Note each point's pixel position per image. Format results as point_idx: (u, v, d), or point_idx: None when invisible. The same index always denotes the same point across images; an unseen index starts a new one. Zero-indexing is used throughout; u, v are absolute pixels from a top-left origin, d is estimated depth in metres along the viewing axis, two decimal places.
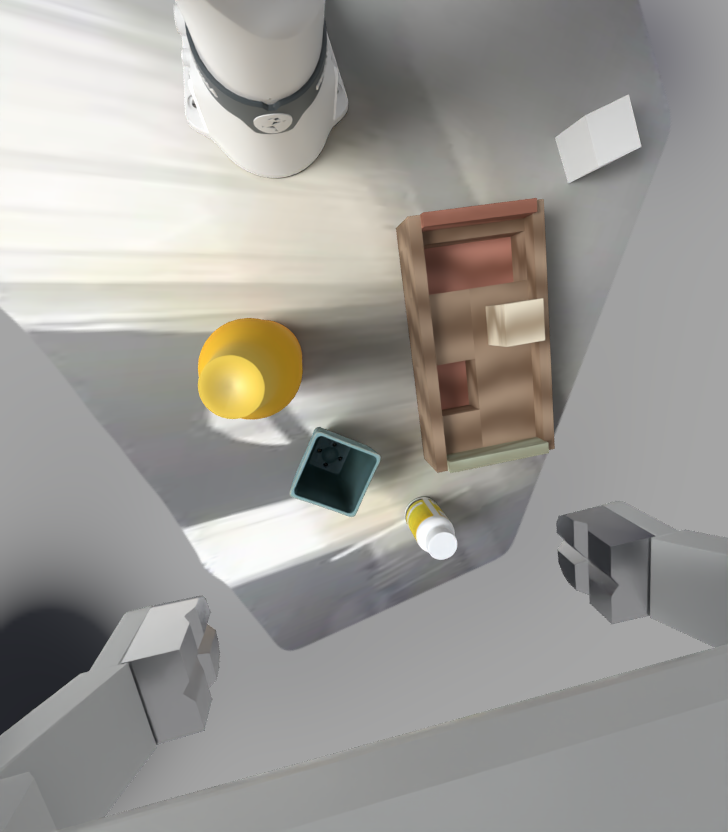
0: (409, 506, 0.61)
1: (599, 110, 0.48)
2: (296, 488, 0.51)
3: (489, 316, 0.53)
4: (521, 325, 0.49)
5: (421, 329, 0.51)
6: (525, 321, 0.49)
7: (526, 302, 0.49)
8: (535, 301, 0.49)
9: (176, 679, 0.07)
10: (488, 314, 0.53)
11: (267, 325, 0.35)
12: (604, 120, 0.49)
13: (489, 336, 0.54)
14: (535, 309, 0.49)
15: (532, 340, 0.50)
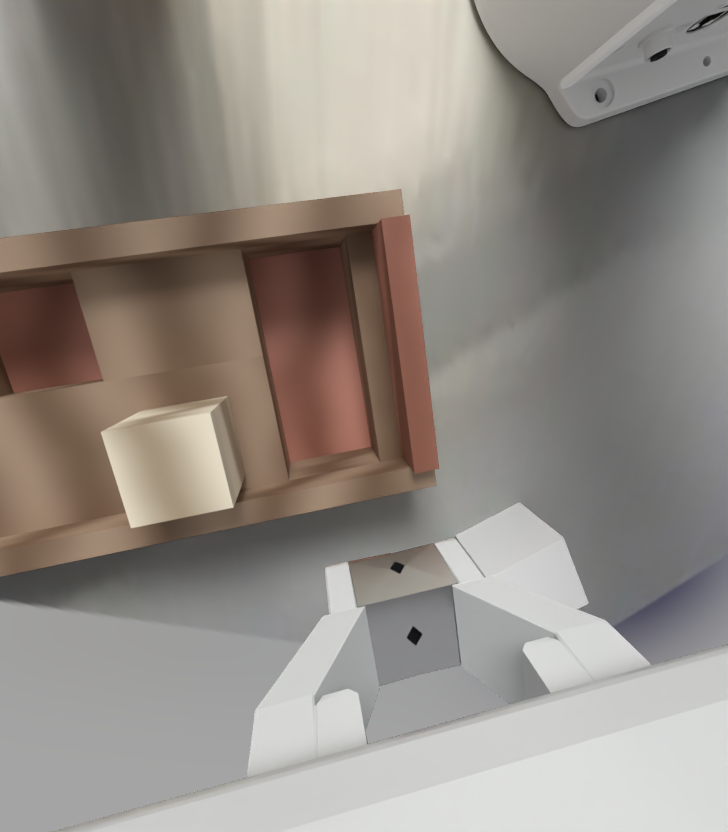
0: None
1: (569, 560, 0.29)
2: None
3: (201, 402, 0.23)
4: (162, 464, 0.20)
5: (147, 222, 0.20)
6: (174, 472, 0.20)
7: (220, 468, 0.20)
8: (224, 490, 0.21)
9: (402, 623, 0.07)
10: (208, 400, 0.24)
11: None
12: (555, 573, 0.29)
13: (158, 409, 0.24)
14: (206, 493, 0.20)
15: (126, 496, 0.20)
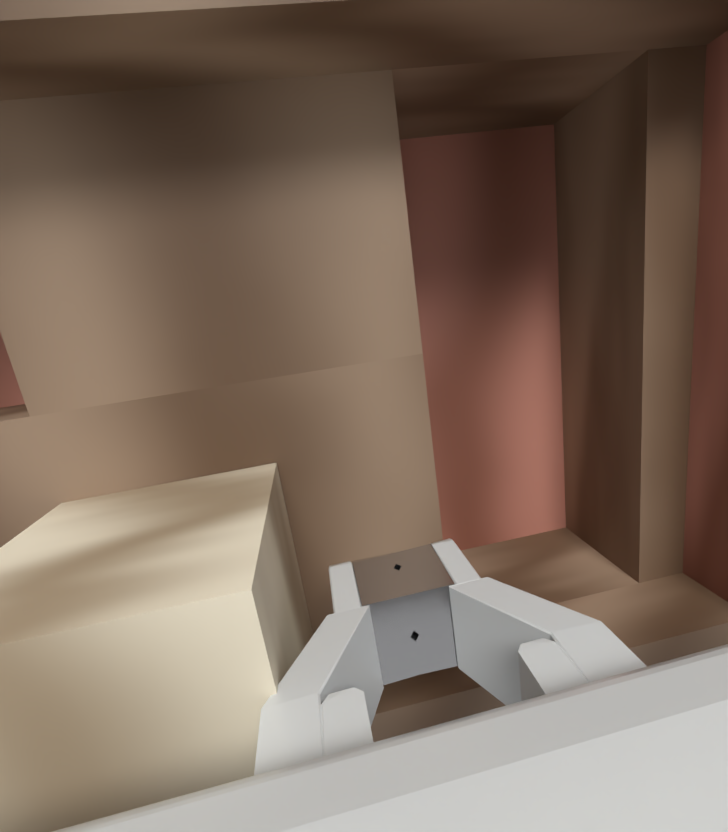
0: None
1: None
2: None
3: (214, 487, 0.09)
4: (77, 771, 0.05)
5: None
6: (120, 792, 0.06)
7: None
8: None
9: (406, 622, 0.07)
10: (230, 479, 0.09)
11: None
12: None
13: (102, 502, 0.09)
14: None
15: None
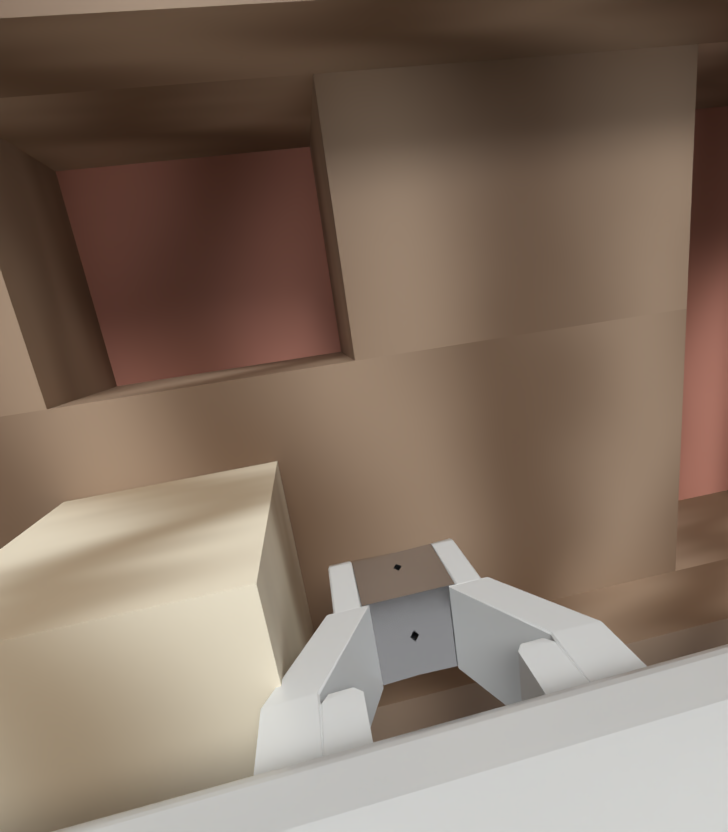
0: None
1: None
2: None
3: (216, 485, 0.09)
4: (85, 763, 0.06)
5: None
6: (127, 784, 0.06)
7: None
8: None
9: (406, 622, 0.07)
10: (231, 477, 0.09)
11: None
12: None
13: (105, 500, 0.09)
14: None
15: None
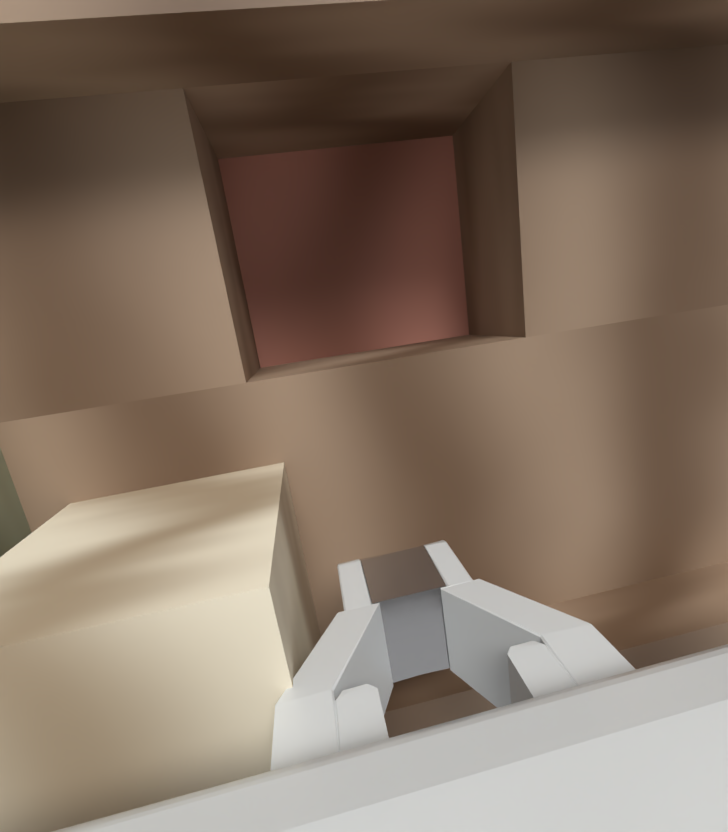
0: None
1: None
2: None
3: (223, 487, 0.09)
4: (95, 767, 0.05)
5: None
6: (138, 789, 0.06)
7: None
8: None
9: (416, 620, 0.07)
10: (239, 479, 0.09)
11: None
12: None
13: (111, 502, 0.09)
14: None
15: None
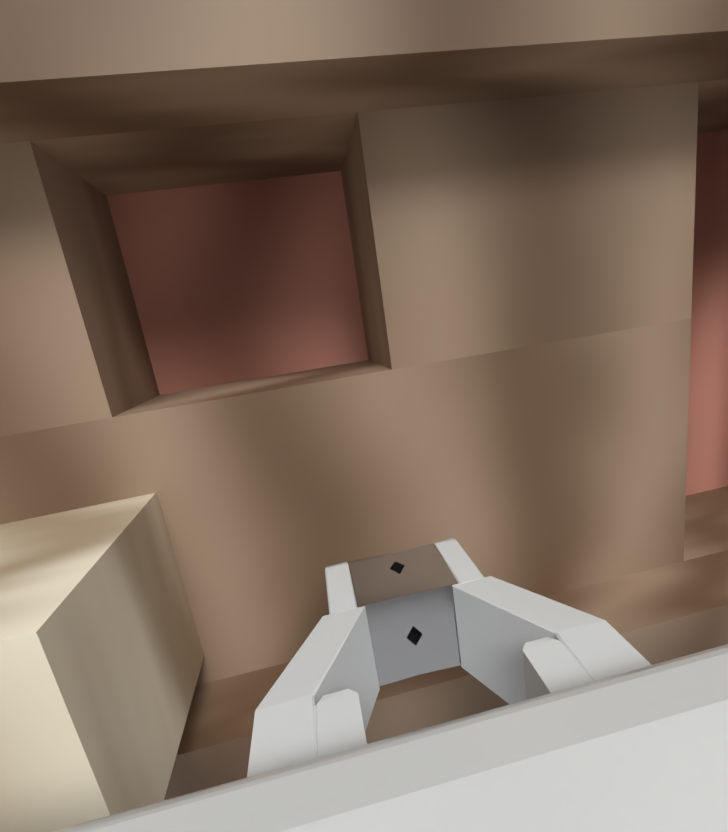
0: None
1: None
2: None
3: (83, 520, 0.09)
4: None
5: None
6: None
7: (86, 792, 0.06)
8: None
9: (402, 623, 0.07)
10: (103, 511, 0.10)
11: None
12: None
13: None
14: None
15: None
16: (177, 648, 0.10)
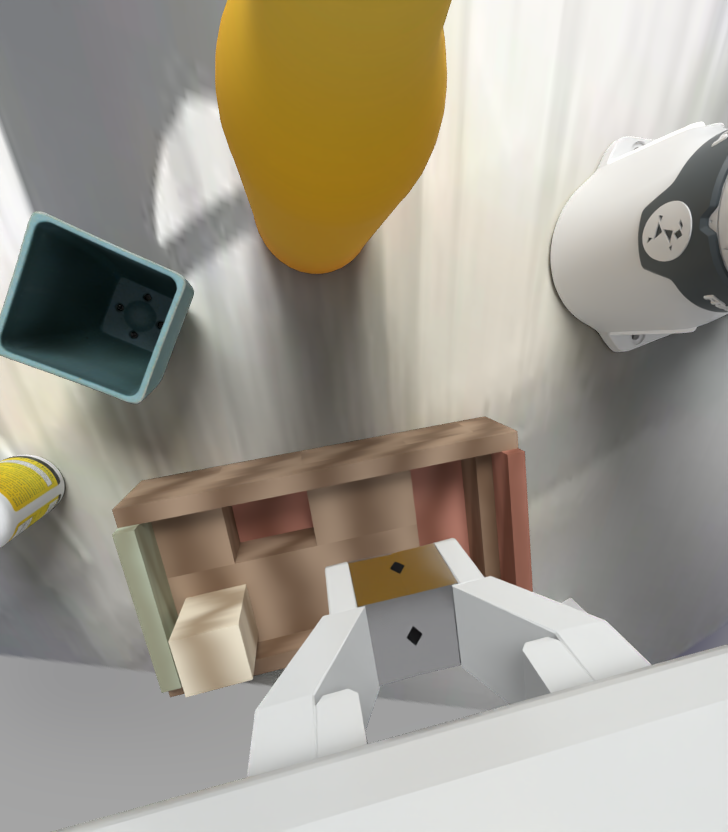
0: (41, 462, 0.33)
1: None
2: (55, 232, 0.25)
3: (228, 594, 0.34)
4: (207, 657, 0.30)
5: (365, 461, 0.33)
6: (214, 661, 0.31)
7: (244, 656, 0.31)
8: (247, 669, 0.31)
9: (402, 623, 0.07)
10: (233, 591, 0.34)
11: (434, 141, 0.16)
12: None
13: (198, 598, 0.34)
14: (235, 672, 0.31)
15: (183, 678, 0.30)
16: (253, 630, 0.35)
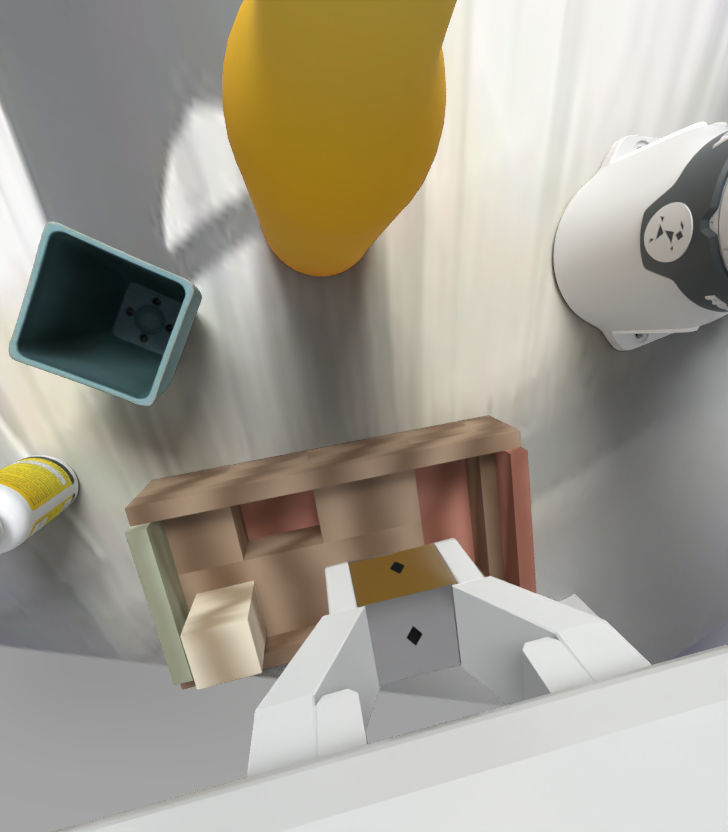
0: (56, 462, 0.34)
1: None
2: (68, 241, 0.26)
3: (238, 590, 0.35)
4: (217, 651, 0.31)
5: (370, 461, 0.33)
6: (224, 655, 0.32)
7: (253, 651, 0.32)
8: (256, 663, 0.32)
9: (402, 623, 0.07)
10: (241, 587, 0.35)
11: (434, 153, 0.17)
12: None
13: (208, 594, 0.35)
14: (244, 665, 0.32)
15: (194, 671, 0.31)
16: (261, 625, 0.36)
